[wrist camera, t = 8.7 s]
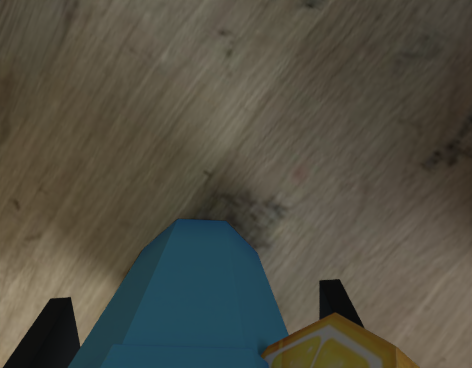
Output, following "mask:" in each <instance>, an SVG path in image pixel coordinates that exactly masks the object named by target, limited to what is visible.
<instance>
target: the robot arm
mask: <svg viewBox="0 0 472 368" xmlns="http://www.w3.org/2000/svg"><path fill="white" fill-rule="evenodd" d="M333 313H337V314H339V315H341V316H343V317H344V318H346V319H348V320H350V321H352V322H353V323H355V324H357V325H359V326H361V327H362V328H364V326H363V324H362V322H361V320H360V318H359V316H358V314H357V312H356V310H355V308H354V306H353V305H352V303H351V301H350V299H349V297H348V295H347V293H346V291H345V289H344V287H343V285H342V283H341V281H340V279H335V280H321V281H320V320H321V319H323V318H325V317H327V316H329V315H331V314H333ZM364 329H365V328H364ZM80 348H81V347H80V342H79V337H78V332H77V327H76V321H75V316H74V311H73V306H72V301H71V297H67V298H52V299H50V300H49V301H48V303H47V304H46V306H45V307H44V309H43V310H42V312H41V313H40V314H39V316H38V317H37V319H36V320H35V322H34V323H33V325H32V326H31V327H30V329H29V330H28V332H27V333H26V335H25V336H24V338H23V339H22V340H21V342H20V343H19V345H18V346H17V348H16V349H15V351H14V352H13V353H12V355H11V356H10V358H9V359H8V361H7V362H6V364H5V365H4V367H3V368H68V366H69V365H70V363H71V362H72V360H73V359H74V357H75V355H76V354H77V352H78V351H79V349H80Z"/></svg>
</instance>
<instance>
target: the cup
mask: <svg viewBox="0 0 472 368" xmlns="http://www.w3.org/2000/svg"><path fill="white" fill-rule="evenodd" d="M68 368H420V367H418V366H417V365H416V364H415V363H414V362H413V361H412V360H411V359H410V358H408V357H407V356H406V355H405V354H404V353H403V352H402V351H401V350H400V349H398V348H397V347H396V346H395V345H393V344H391V343H389V342H387V341H386V340H384V339H382V338H380V337H378V336H377V335H375V334H373V333H371V332H369V331H368V330H366V329H364V328H362V327H361V326H359V325H357V324H355V323H353V322H352V321H350V320H348V319H346V318H344V317H343V316H341V315H339V314H337V313H333V314H331V315H329V316H327V317H325V318H323V319H321V320H319V321H317V322H315V323H313V324H311V325H309V326H307V327H305V328H303V329H301V330H299V331H297V332H295V333H293V334H291V335H288V332H287V329H286V327H285V324H284V322H283V319H282V316H281V314H280V311H279V309H278V306H277V303H276V301H275V298H274V295H273V293H272V290H271V288H270V285H269V282H268V280H267V277H266V274H265V272H264V269H263V267H262V264H261V261H260V259H259V256H258V254H257V252H256V251H255V250H254V249H253V248H252V247H251V246H250V245H249V244H248V243H247V242H246V241H245V240H244V239H243V238H242V237H241V236H240V235H239V234H238V233H237V232H236V231H235V230H234V229H233V228H232V227H231V225H230V224H229V223H228V222H227V221H217V220H194V219H177V220H176V221H175V222H174V223H172V224H171V225H170V226H169V227H168V228H167V229H165V230H164V231H163V232H162V233H161V234H160V235H159V236H157V237H156V238H155V239H154V240H153V241H152V242H150V243H149V244H148V245H147V246H146V247H145V248H144V249H143V250H142V252H141V253H140V255H139V256H138V258H137V260H136V261H135V263H134V264H133V266H132V267H131V269H130V271H129V272H128V274H127V275H126V277H125V278H124V280H123V282H122V283H121V285H120V286H119V288H118V289H117V291H116V293H115V294H114V296H113V297H112V299H111V300H110V302H109V304H108V305H107V307H106V308H105V310H104V311H103V313H102V315H101V316H100V318H99V319H98V321H97V322H96V324H95V326H94V327H93V329H92V330H91V332H90V333H89V335H88V337H87V338H86V340H85V341H84V343H83V344H82V346H81V348H80V349H79V351H78V352H77V354H76V355H75V357H74V359H73V360H72V362H71V363H70V365H69V366H68Z"/></svg>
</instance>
